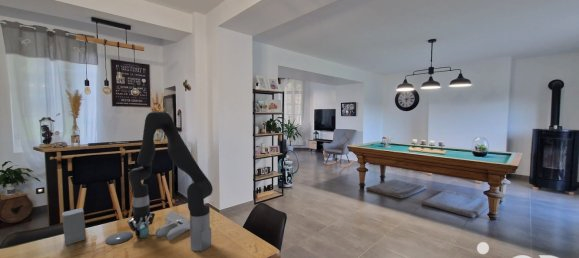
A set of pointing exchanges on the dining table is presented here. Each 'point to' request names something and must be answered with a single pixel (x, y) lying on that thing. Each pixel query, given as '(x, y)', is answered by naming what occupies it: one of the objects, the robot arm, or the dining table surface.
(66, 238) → the skincare box
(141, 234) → the teal plug
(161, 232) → the chrome faucet
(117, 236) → the slate coaster
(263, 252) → the dining table surface
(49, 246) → the dining table surface
